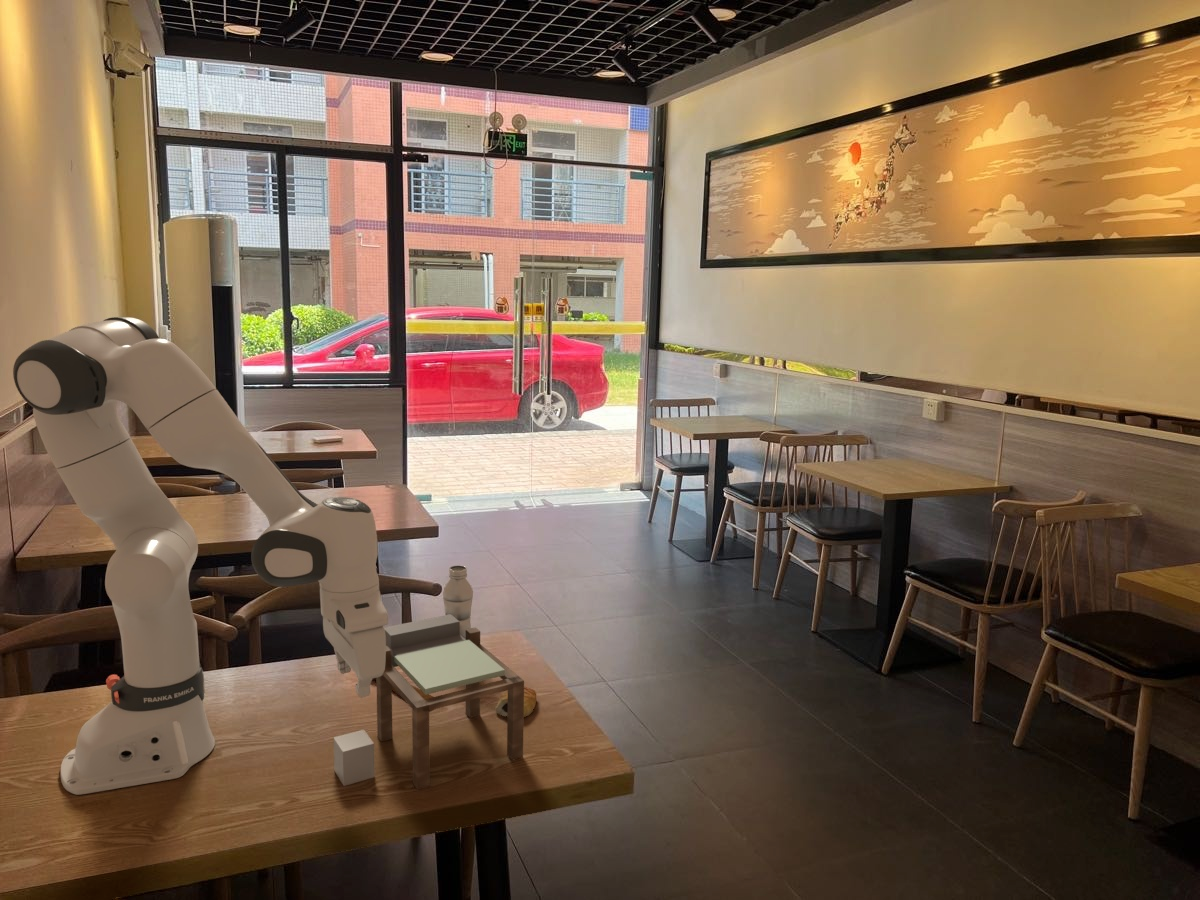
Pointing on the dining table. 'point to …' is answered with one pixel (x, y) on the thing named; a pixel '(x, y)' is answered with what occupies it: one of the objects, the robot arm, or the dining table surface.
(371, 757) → the light grey block
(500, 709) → the pastry
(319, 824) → the dining table surface
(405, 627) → the trapdoor
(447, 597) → the plastic bottle
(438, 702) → the stand
